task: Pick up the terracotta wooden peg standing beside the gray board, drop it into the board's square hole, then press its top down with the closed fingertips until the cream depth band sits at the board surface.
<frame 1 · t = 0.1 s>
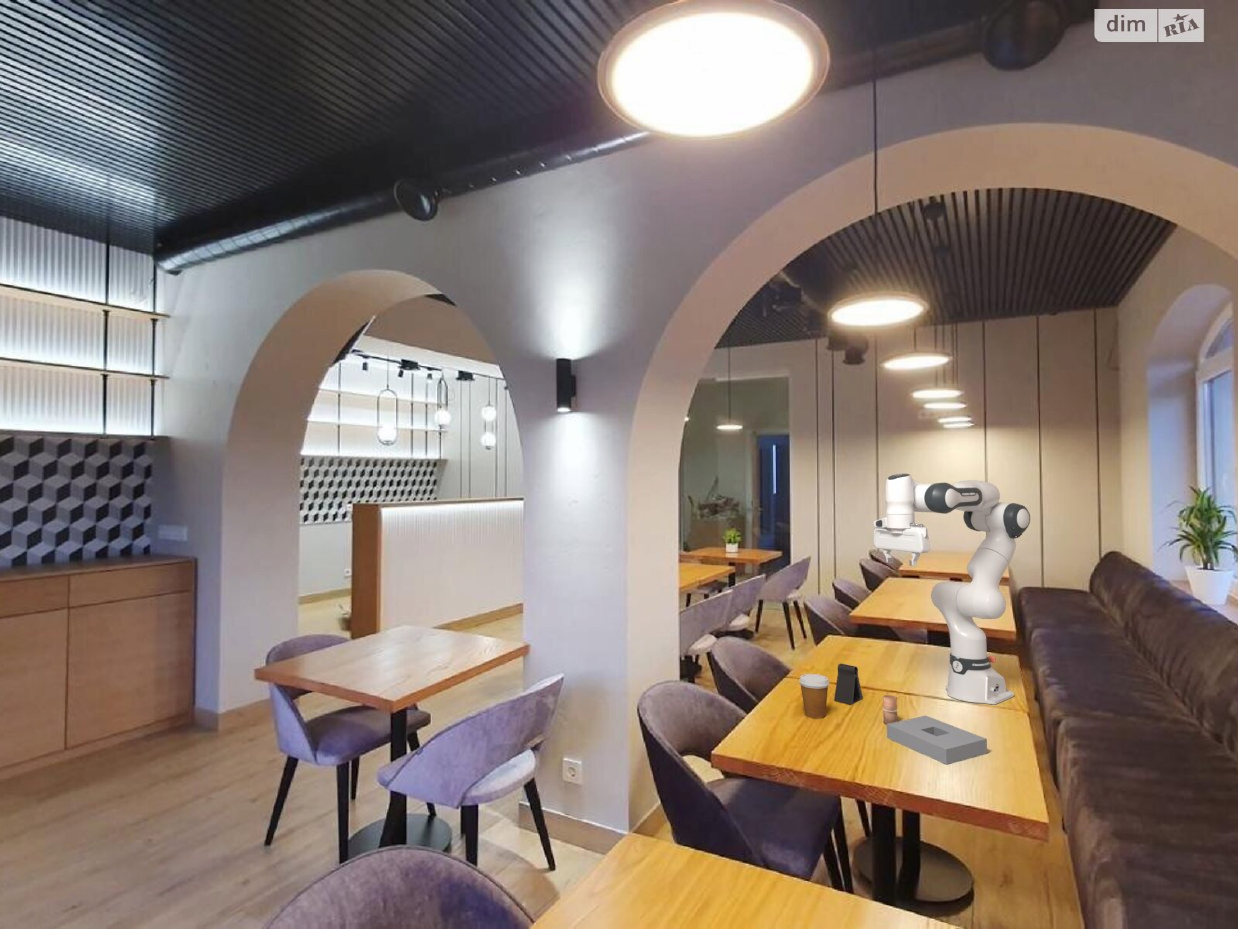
hand: (901, 564, 211), 48 cm above the table, tool pointing down, fingers open, 8 cm apart
phone stand: (848, 700, 221), on the table
disposable coffee cup: (815, 715, 207), on the table
gray board: (935, 745, 182), on the table
terracotta peg: (890, 723, 199), on the table
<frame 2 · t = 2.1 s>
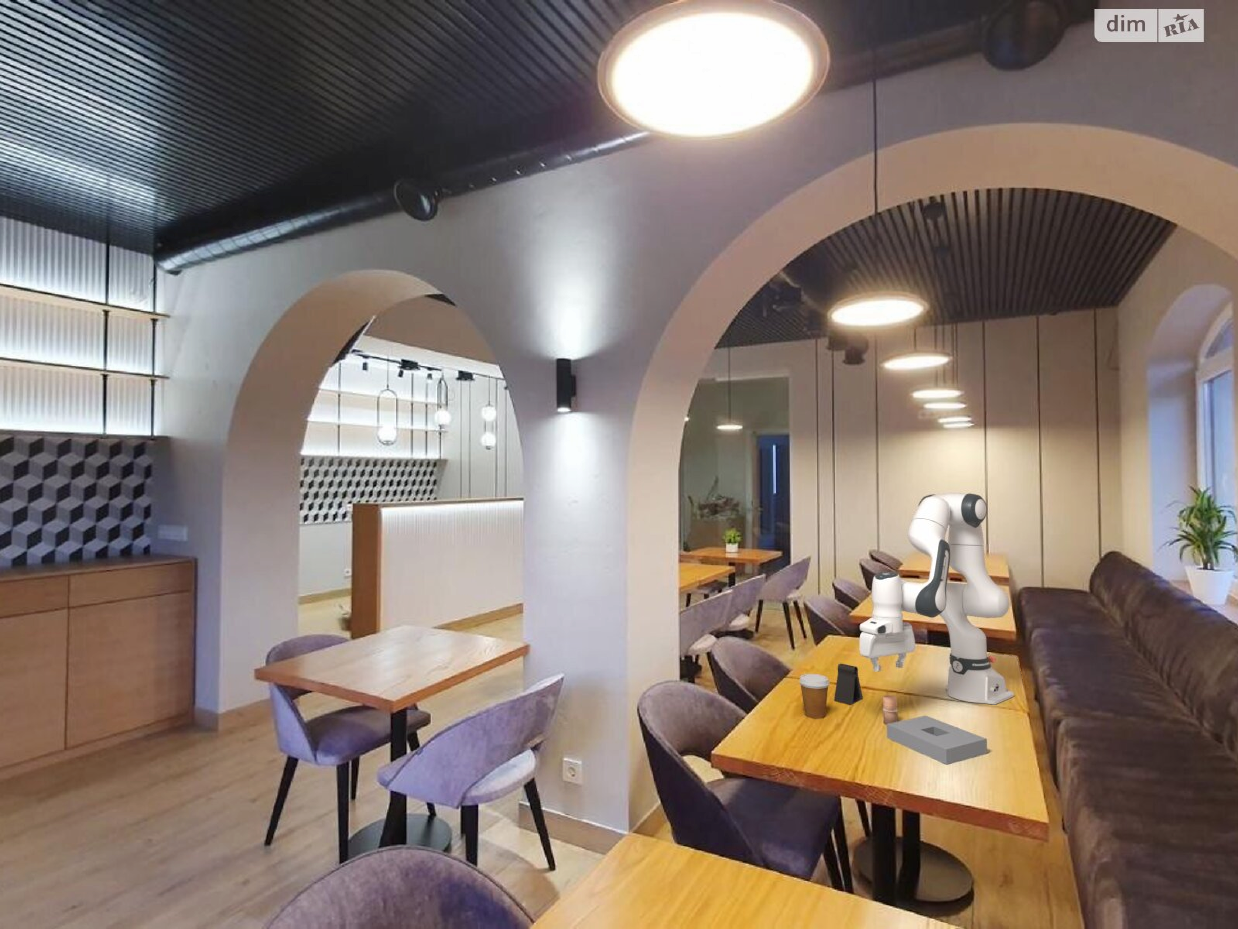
hand: (888, 669, 199), 17 cm above the table, tool pointing down, fingers open, 8 cm apart
nothing on the table moved.
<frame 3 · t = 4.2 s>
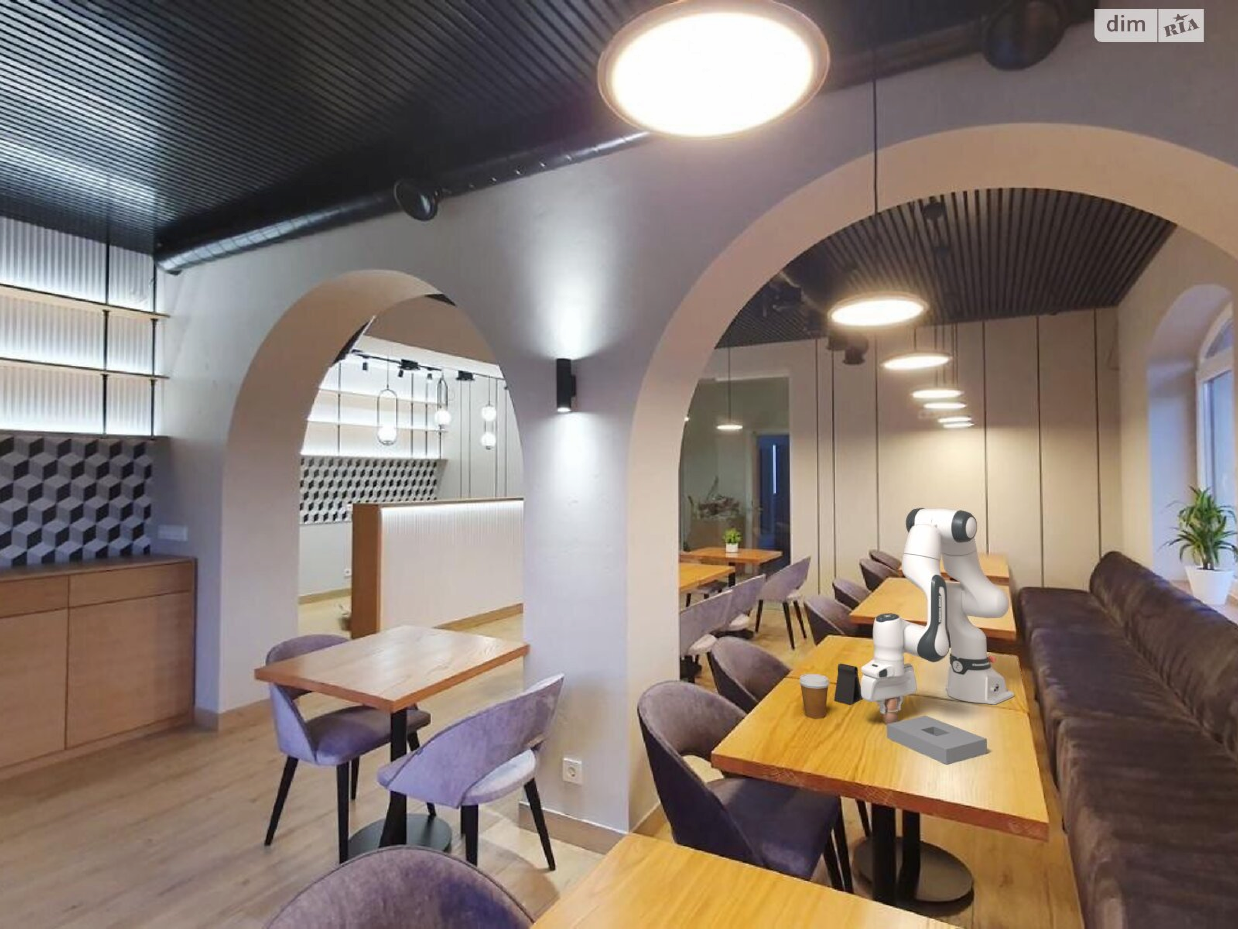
hand: (890, 711, 199), 4 cm above the table, tool pointing down, fingers closed on terracotta peg, 4 cm apart
terracotta peg: (890, 723, 199), on the table, touching gripper
everything else where it was.
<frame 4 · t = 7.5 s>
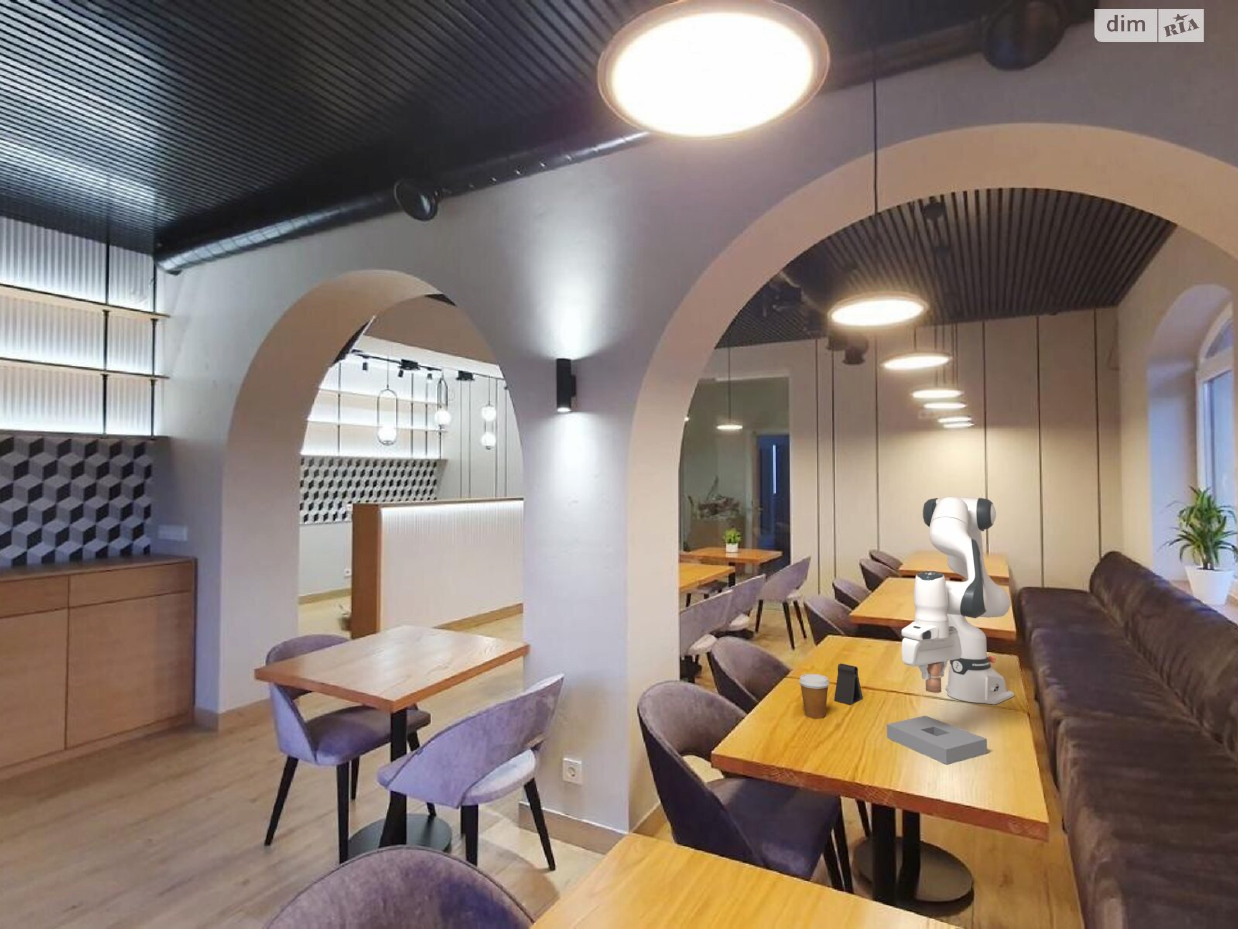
hand: (933, 677, 182), 19 cm above the table, tool pointing down, fingers closed on terracotta peg, 4 cm apart
terracotta peg: (933, 690, 182), point 15 cm above the table, touching gripper
everything else where it was.
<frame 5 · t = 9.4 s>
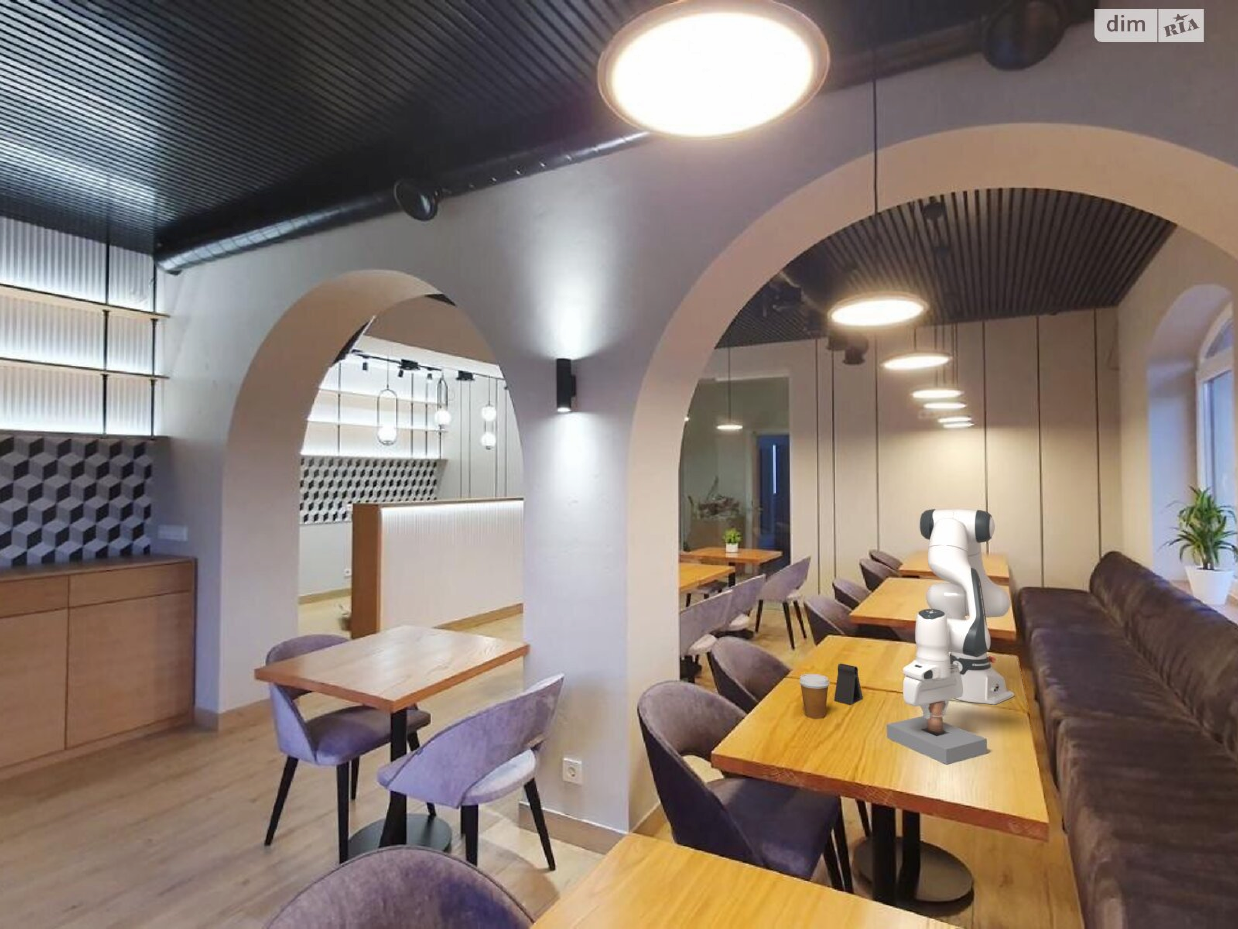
hand: (934, 716, 182), 8 cm above the table, tool pointing down, fingers closed on terracotta peg, 4 cm apart
terracotta peg: (935, 729, 182), point 5 cm above the table, touching gripper
everything else where it was.
when the fingers open (6 cm above the table, at t = 11.1 s): terracotta peg drops 2 cm, resting in gray board.
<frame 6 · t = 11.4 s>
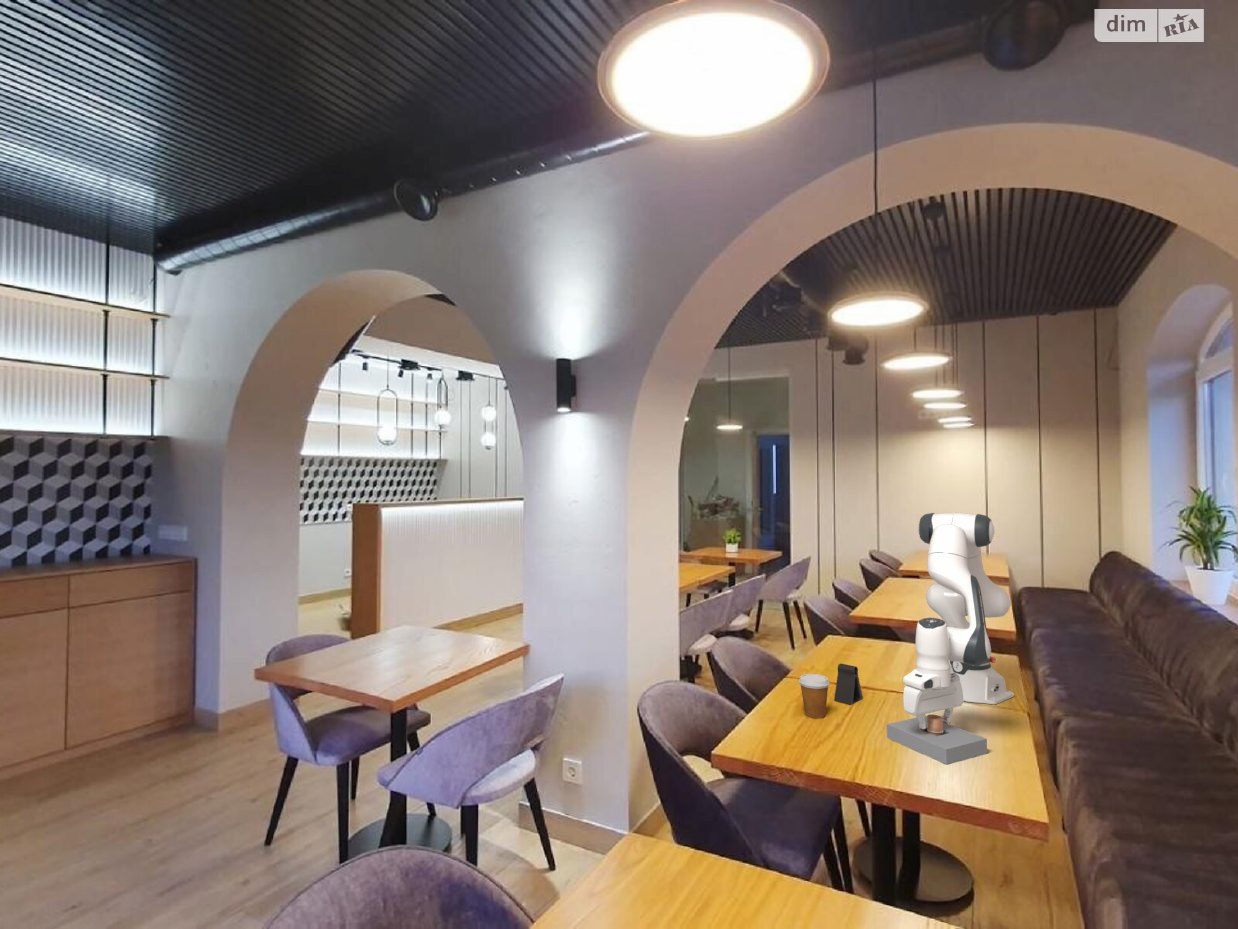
hand: (934, 725, 182), 6 cm above the table, tool pointing down, fingers open, 8 cm apart
terracotta peg: (935, 745, 182), resting in gray board
everything else where it was.
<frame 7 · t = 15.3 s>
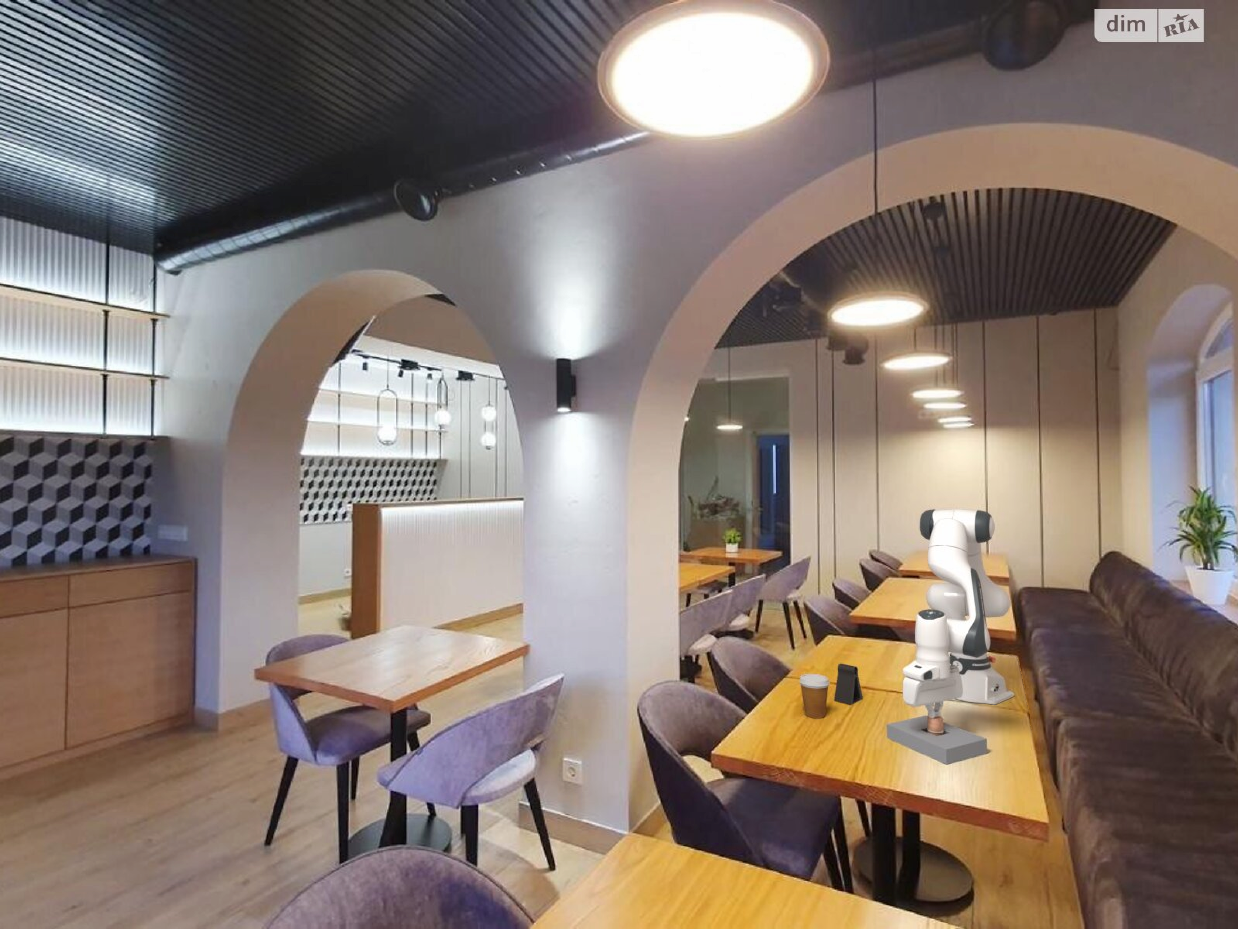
hand: (934, 717, 182), 8 cm above the table, tool pointing down, fingers closed, pressing on terracotta peg
terracotta peg: (935, 745, 182), resting in gray board, touching gripper
everything else where it was.
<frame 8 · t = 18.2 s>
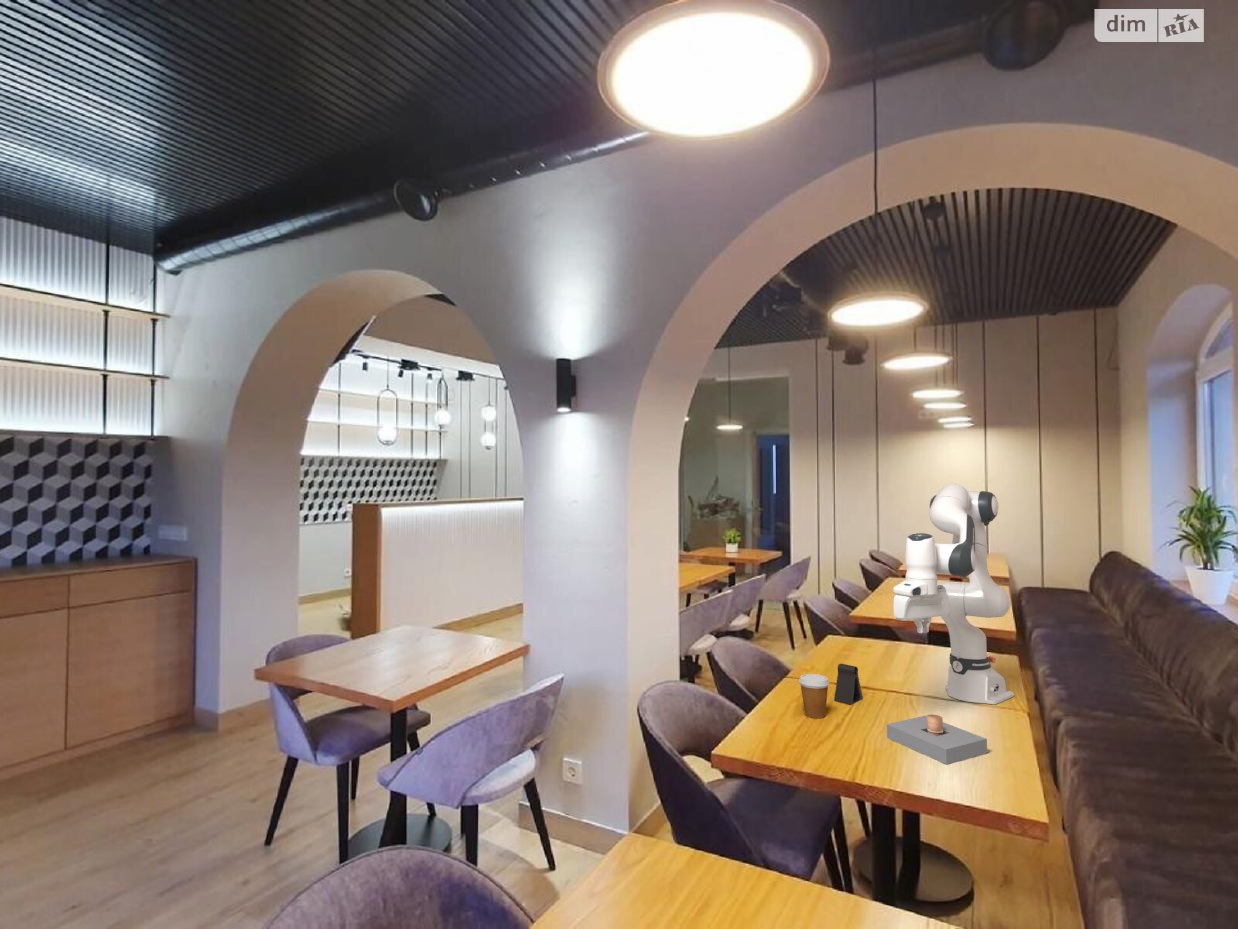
hand: (923, 632, 195), 29 cm above the table, tool pointing down, fingers closed
terracotta peg: (935, 745, 182), resting in gray board
everything else where it was.
at the end: terracotta peg 0.1 cm off-centre on the gray board, point 0.0 cm above the gray board's base; terracotta peg tilted 1°; the gripper is holding nothing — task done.
